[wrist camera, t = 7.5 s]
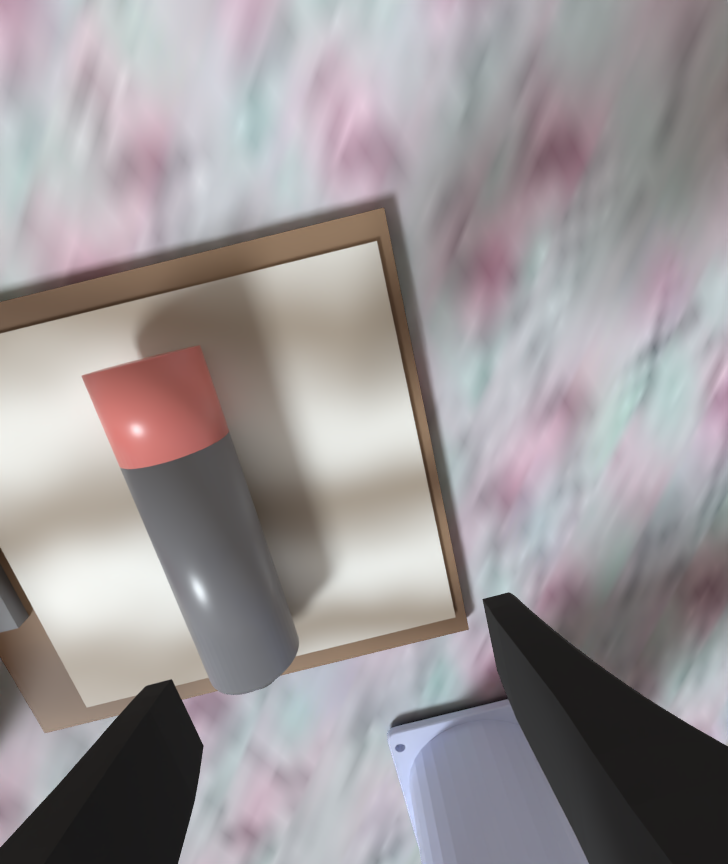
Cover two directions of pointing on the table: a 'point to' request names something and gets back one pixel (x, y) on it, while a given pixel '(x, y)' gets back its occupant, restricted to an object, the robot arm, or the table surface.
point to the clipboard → (257, 452)
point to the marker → (198, 514)
